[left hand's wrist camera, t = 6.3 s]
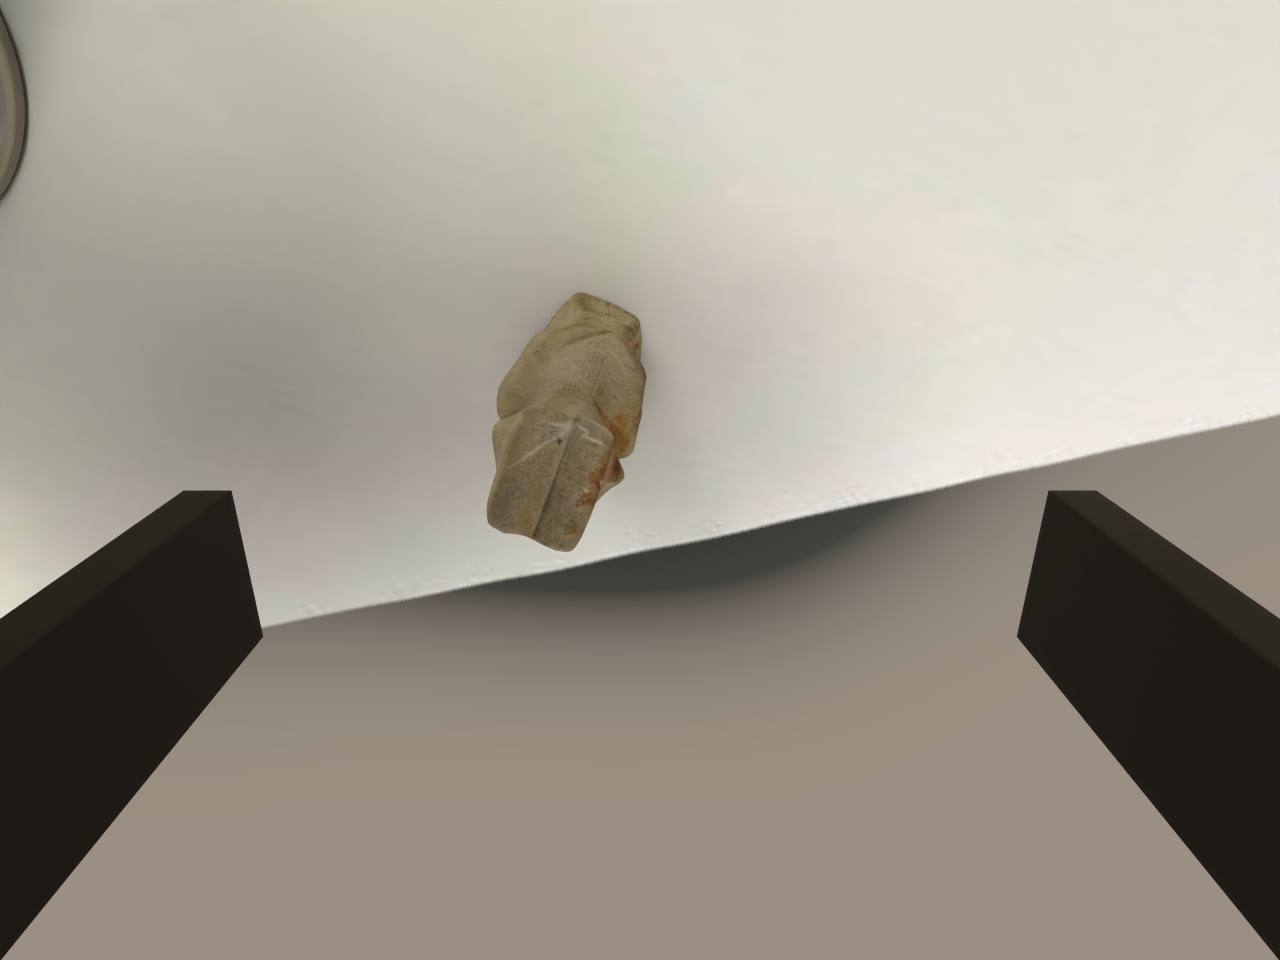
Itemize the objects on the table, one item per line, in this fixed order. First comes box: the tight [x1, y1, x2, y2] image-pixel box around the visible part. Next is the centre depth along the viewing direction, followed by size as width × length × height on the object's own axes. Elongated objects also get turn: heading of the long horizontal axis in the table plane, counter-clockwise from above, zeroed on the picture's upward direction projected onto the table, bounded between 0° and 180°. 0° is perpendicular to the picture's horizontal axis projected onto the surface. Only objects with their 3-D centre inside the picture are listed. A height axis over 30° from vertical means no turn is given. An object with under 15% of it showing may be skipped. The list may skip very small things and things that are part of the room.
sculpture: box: [487, 293, 646, 552], centre depth 32 cm, size 6×7×15 cm
